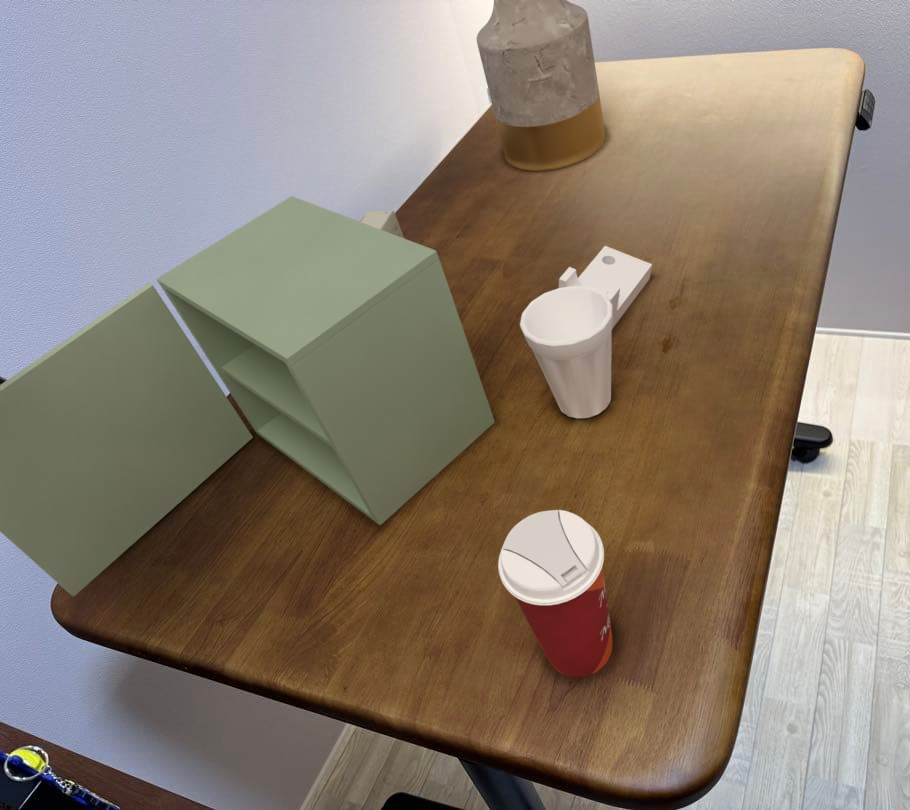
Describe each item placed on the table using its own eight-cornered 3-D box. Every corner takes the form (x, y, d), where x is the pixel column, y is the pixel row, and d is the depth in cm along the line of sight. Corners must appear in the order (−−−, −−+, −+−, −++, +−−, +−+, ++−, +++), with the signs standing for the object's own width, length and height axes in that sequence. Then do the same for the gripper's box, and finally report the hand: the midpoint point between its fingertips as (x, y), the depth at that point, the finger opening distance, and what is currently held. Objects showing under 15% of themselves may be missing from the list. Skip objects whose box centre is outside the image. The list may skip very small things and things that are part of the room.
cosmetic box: (395, 279, 118) (367, 208, 110) (421, 279, 117) (394, 207, 109) (378, 305, 114) (348, 234, 106) (405, 306, 113) (376, 233, 104)
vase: (616, 118, 143) (590, -68, 122) (590, 169, 131) (557, -28, 110) (523, 123, 149) (484, -53, 128) (490, 172, 137) (442, -13, 117)
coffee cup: (645, 650, 67) (623, 550, 57) (569, 710, 65) (532, 615, 55) (587, 587, 73) (558, 485, 63) (515, 640, 70) (473, 543, 60)
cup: (526, 414, 91) (500, 327, 83) (577, 363, 96) (558, 276, 87) (593, 444, 86) (573, 355, 77) (644, 389, 90) (631, 299, 82)
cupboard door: (43, 571, 88) (-117, 428, 72) (221, 421, 102) (118, 271, 86) (73, 597, 85) (-89, 452, 69) (253, 437, 98) (152, 284, 82)
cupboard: (380, 525, 84) (286, 358, 67) (256, 433, 99) (155, 278, 82) (495, 422, 91) (436, 250, 75) (364, 351, 107) (291, 195, 90)
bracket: (604, 343, 99) (610, 300, 93) (556, 322, 101) (559, 278, 95) (648, 284, 106) (656, 240, 100) (602, 265, 108) (607, 221, 102)
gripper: (-298, 454, 61) (-89, 604, 75) (-13, 284, 72) (120, 443, 87) (-316, 423, 65) (-114, 571, 80) (-43, 267, 76) (89, 422, 91)
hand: (8, 504), depth 83 cm, fingers open, 11 cm apart
